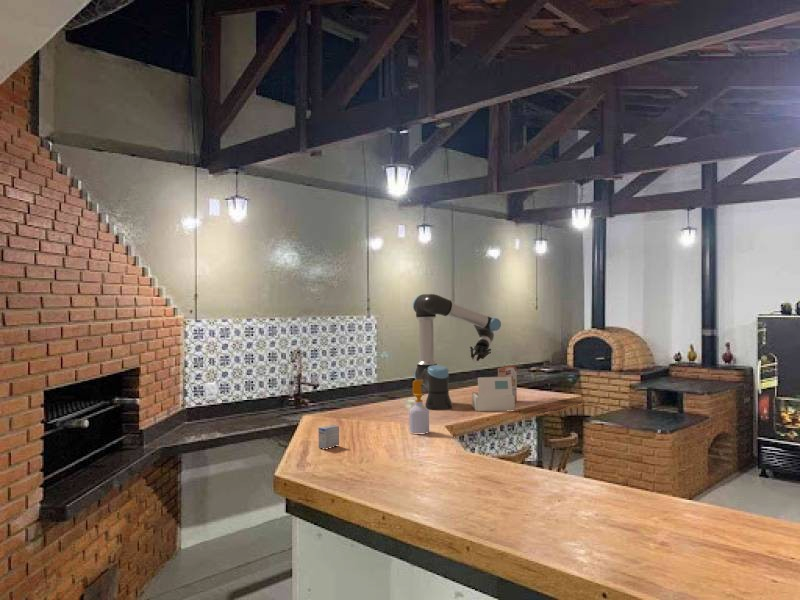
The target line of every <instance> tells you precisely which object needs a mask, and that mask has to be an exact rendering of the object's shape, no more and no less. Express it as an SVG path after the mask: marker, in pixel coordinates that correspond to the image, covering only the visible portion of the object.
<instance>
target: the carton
mask: <svg viewBox="0 0 800 600" xmlns="http://www.w3.org/2000/svg"><path fill="white" fill-rule="evenodd" d="M471 399H472V401H471V404H472V405H471V406H473V407H472V408H473V409H474V411H475V412H477V411H487V412H508V411H507V410H514V411H516V401H515V396H514V395H505V396H479V391H477V392H476V391H475V392H472V393H471Z"/></svg>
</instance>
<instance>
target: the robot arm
mask: <svg viewBox="0 0 800 600" xmlns="http://www.w3.org/2000/svg"><path fill="white" fill-rule="evenodd" d="M412 308H413V311H414V312H415V318H416V319H417V320H418V339H419V340H418V348H419V350H418V351H419V353H418V354H419V355H418V356H419V361H418V362H417V363H416V368H415V370H414V374H413V377H414V380H424V381H422V382H421V387H422V386H423V387H427V391H428V392H427V397H426V401H425V404H424V407H426V408H427V409H428V410H431V409H432V410H433V411H442V410H443V411H445V410H450V409H452V408H453V402H452V399H451V396H450V391H449V381H450V380H449V375H450V374H449V369H448V367H446V366H444V365H438V364H437V362H436V361H435V346H434V345H435V343H434V342H435V341H434V320H435V319H436V318H437V316H436V315H439V316H440V315H441V316H444V317H448V316H449V317H451V318H454V319H457V320H460V321H463V322H466V323H469V324H471V325H473V326H474V328H475V330H476V332H477V334H478V336H479V338H478V340H477V342H476V344H475V345H474V347H473V346H469V352H470V358H472V365H476V364H477V362H478V361H480V360H483V359H485V358H486V357H487V356H488V355H489V354H492V353H491V352H492V349H491V348H490V346H491V344H492V342H493V341H494V337H495V333H494V332H495V331H496V332H497V331H499V330H500V329H501V327H502V322H501V320H500V319H499V318H498V317H492V316H488V315H486V314H483V313H480V312H477V311H475V310H472V309H470V308H467V307H464V306H461V305H459V304H456V303H453V301H452V300H450V299H447V298H446V297H443V296H440V295H438V294H435V293H426V294H425V293H423V294H419V295H417V296H416V297H415V299H414V300H413V302H412ZM432 410H431V411H432Z"/></svg>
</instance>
